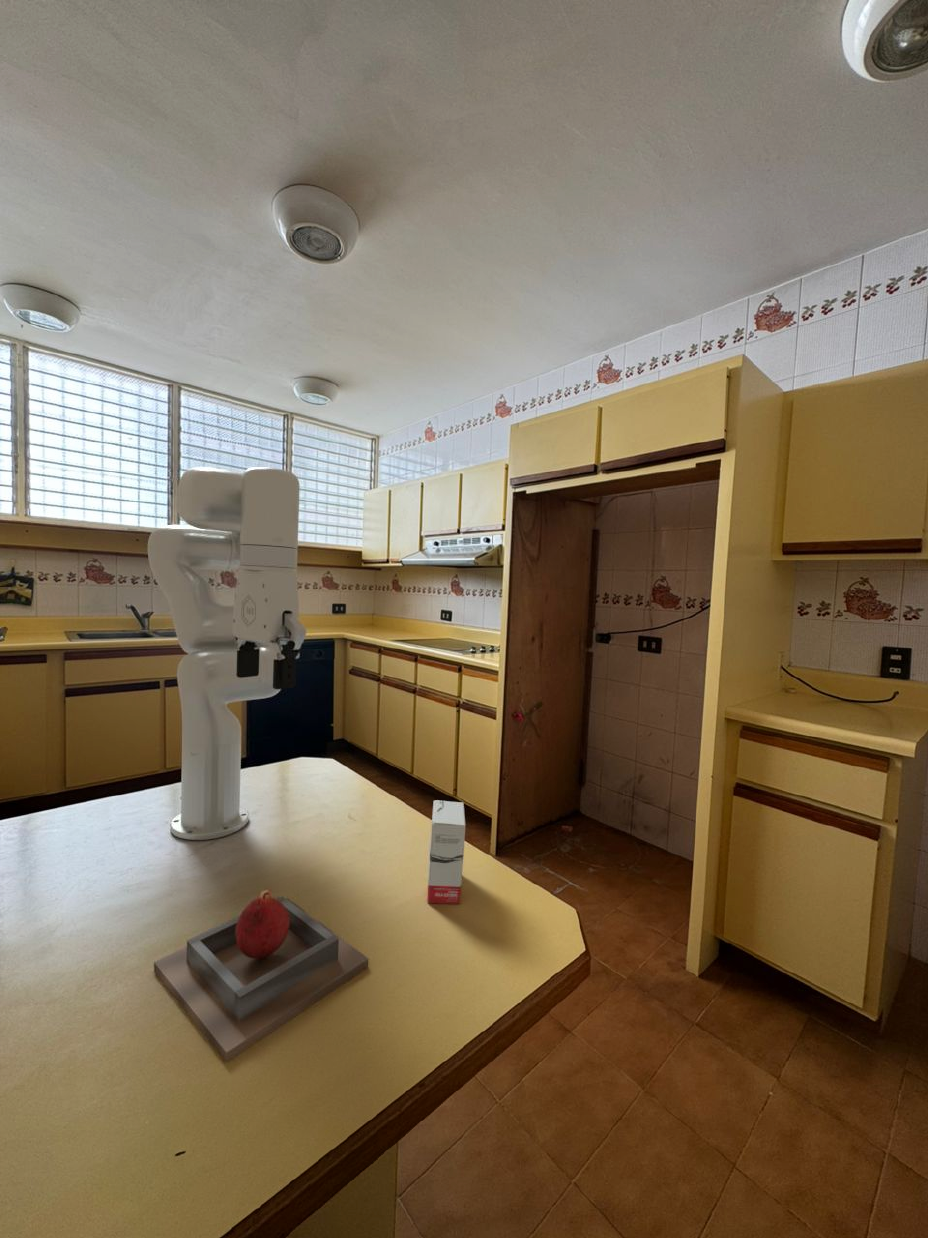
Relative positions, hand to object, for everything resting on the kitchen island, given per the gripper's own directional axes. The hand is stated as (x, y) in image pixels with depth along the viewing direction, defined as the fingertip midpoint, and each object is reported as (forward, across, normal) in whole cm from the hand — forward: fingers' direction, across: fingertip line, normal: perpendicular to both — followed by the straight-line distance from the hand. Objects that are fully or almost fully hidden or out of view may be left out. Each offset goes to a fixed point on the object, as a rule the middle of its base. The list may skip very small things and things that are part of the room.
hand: (265, 682), depth 75 cm
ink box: (+30, +19, +19) cm, 41 cm away
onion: (+29, +15, -8) cm, 34 cm away
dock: (+30, +15, -8) cm, 35 cm away
